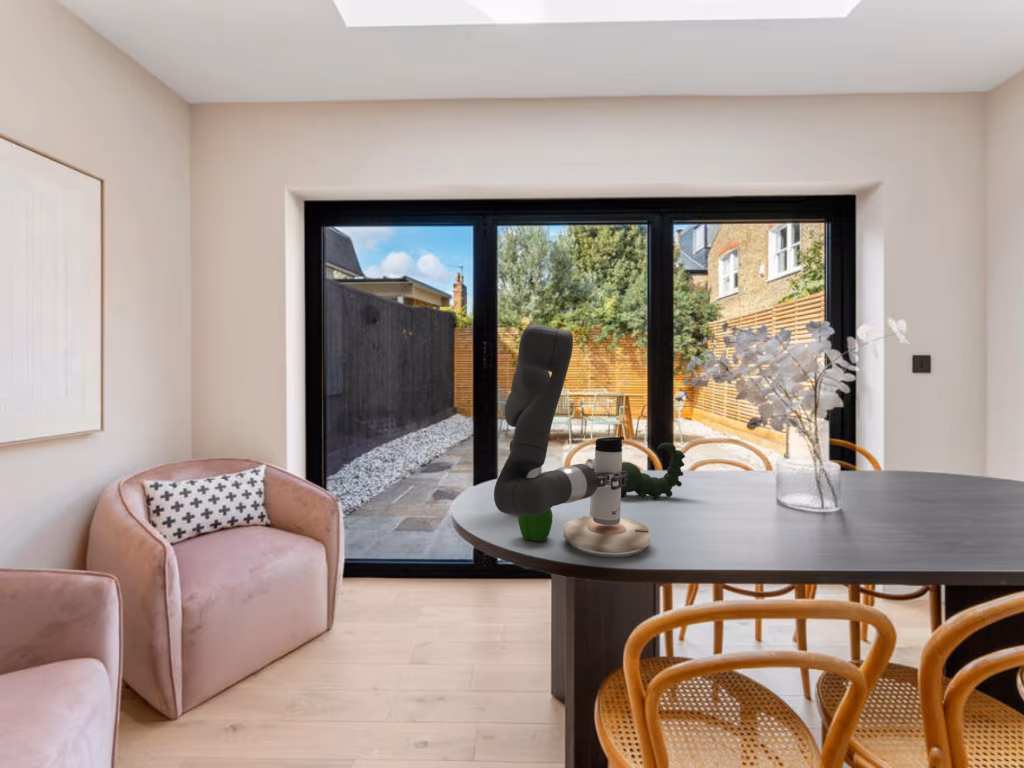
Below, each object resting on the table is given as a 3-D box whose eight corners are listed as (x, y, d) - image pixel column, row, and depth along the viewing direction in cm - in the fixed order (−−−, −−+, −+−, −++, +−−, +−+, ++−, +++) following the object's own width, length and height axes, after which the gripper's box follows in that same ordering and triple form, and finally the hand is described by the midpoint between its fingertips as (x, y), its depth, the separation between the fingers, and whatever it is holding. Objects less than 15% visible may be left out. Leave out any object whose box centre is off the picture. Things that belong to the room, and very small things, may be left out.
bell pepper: (518, 532, 135) (518, 493, 134) (551, 533, 134) (551, 493, 134) (517, 544, 126) (518, 501, 126) (552, 545, 126) (553, 502, 126)
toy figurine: (674, 499, 176) (597, 491, 177) (681, 442, 175) (604, 434, 176) (682, 507, 167) (601, 498, 168) (689, 446, 166) (608, 438, 167)
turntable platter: (558, 547, 119) (558, 537, 119) (568, 521, 138) (568, 512, 138) (652, 555, 115) (652, 544, 115) (649, 527, 134) (649, 518, 134)
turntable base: (565, 553, 120) (566, 547, 120) (573, 530, 137) (574, 525, 137) (644, 560, 116) (644, 554, 116) (642, 536, 133) (642, 530, 133)
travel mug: (621, 526, 122) (624, 438, 122) (592, 524, 124) (594, 437, 123) (621, 519, 129) (624, 435, 128) (593, 516, 130) (596, 434, 129)
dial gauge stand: (580, 530, 137) (581, 459, 137) (583, 520, 146) (584, 454, 145) (604, 531, 136) (605, 461, 135) (605, 522, 144) (606, 455, 144)
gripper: (600, 470, 110) (641, 461, 123) (545, 461, 120) (588, 453, 132) (599, 507, 111) (640, 494, 123) (544, 495, 120) (587, 484, 133)
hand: (613, 473), depth 128 cm, fingers closed on travel mug, 6 cm apart
